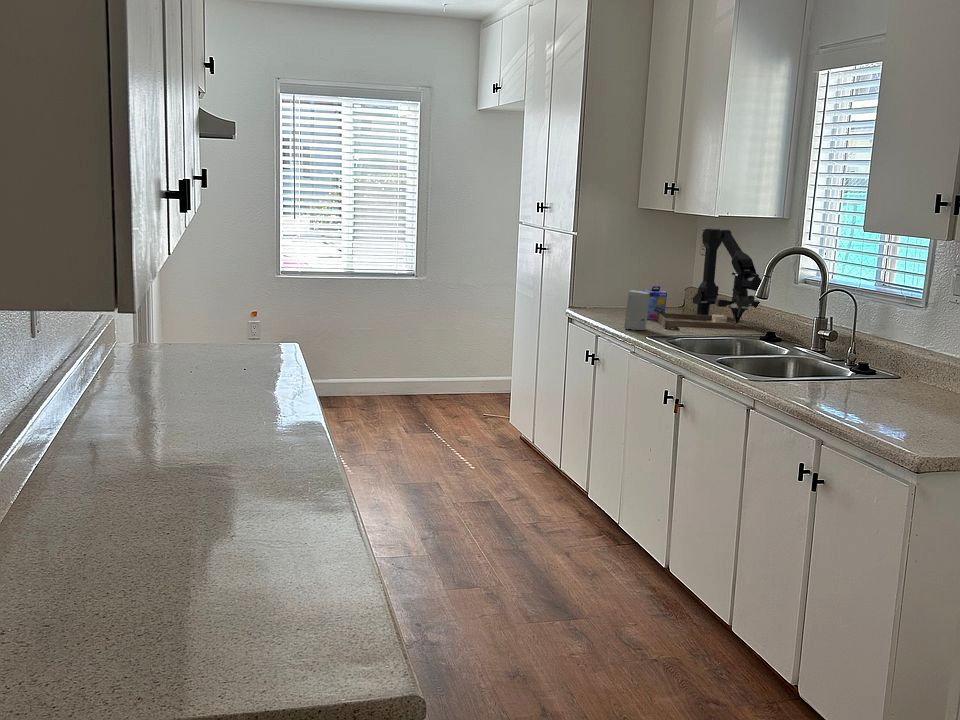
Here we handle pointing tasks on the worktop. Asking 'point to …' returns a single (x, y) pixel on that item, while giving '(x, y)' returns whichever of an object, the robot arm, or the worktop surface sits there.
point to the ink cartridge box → (656, 302)
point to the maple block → (719, 318)
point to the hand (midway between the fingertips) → (736, 323)
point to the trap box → (689, 321)
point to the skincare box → (636, 310)
